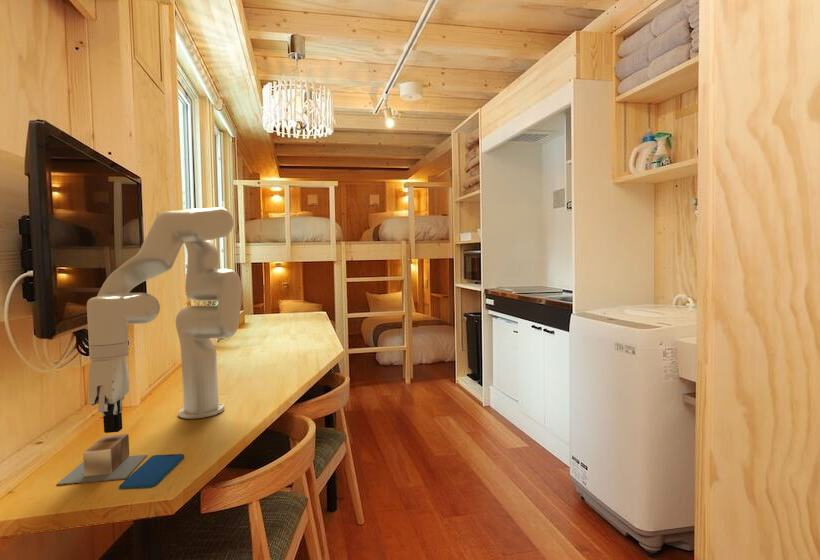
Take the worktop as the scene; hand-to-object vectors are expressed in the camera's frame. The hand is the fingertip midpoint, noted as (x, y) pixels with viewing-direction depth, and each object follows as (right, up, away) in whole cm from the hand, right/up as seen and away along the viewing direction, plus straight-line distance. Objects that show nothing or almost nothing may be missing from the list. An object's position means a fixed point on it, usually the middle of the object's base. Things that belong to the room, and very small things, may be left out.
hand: (113, 431), depth 110 cm
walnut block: (0, -4, +2) cm, 4 cm away
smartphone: (+13, -7, -6) cm, 16 cm away
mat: (+1, -7, -5) cm, 8 cm away
